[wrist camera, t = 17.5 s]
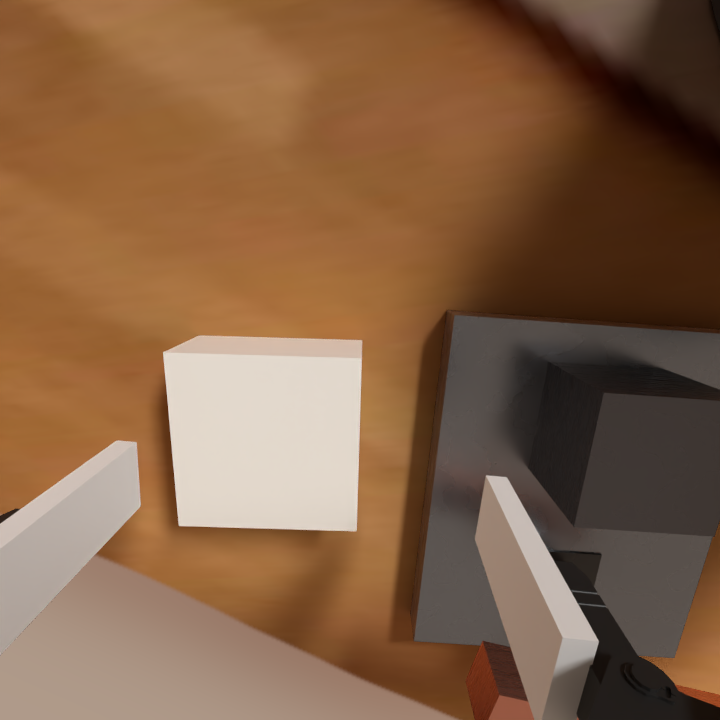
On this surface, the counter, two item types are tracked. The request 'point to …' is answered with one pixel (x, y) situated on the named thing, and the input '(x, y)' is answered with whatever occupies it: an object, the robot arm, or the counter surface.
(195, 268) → the counter surface
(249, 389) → the cover
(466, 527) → the latch plate
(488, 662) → the t key
